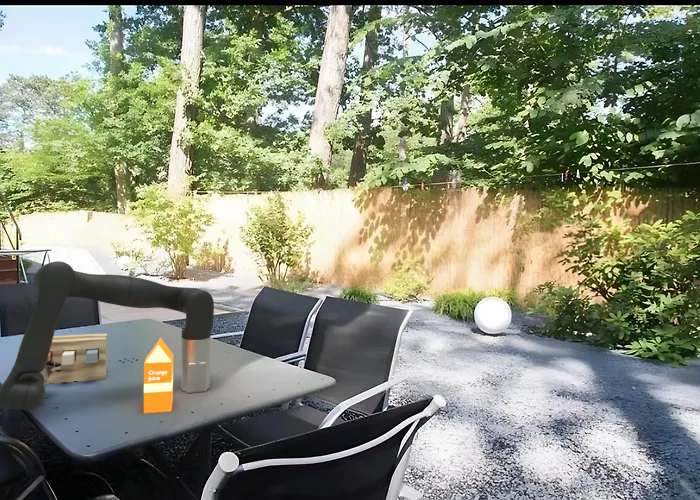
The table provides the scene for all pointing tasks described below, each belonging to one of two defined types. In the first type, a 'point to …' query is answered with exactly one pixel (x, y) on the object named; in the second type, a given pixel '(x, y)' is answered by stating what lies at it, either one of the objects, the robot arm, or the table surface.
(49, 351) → the red key
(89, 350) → the blue key
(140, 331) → the table surface
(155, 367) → the orange juice
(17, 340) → the table surface
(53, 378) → the key box
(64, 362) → the white key
